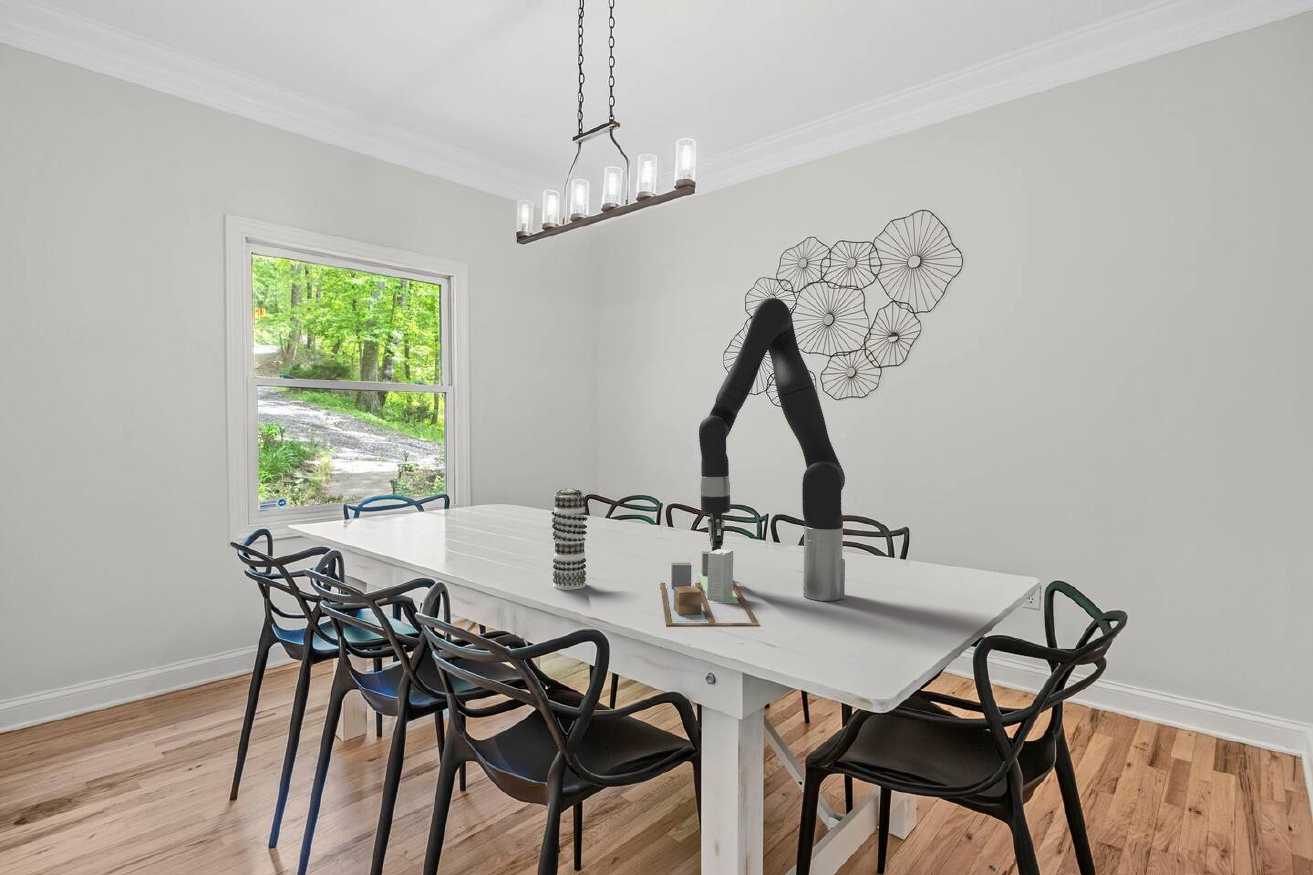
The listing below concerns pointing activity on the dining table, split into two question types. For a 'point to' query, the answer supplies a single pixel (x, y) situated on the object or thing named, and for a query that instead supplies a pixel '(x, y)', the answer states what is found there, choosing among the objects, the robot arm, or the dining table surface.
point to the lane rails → (707, 610)
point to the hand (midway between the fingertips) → (716, 561)
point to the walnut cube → (687, 600)
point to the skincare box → (720, 575)
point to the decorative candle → (569, 540)
